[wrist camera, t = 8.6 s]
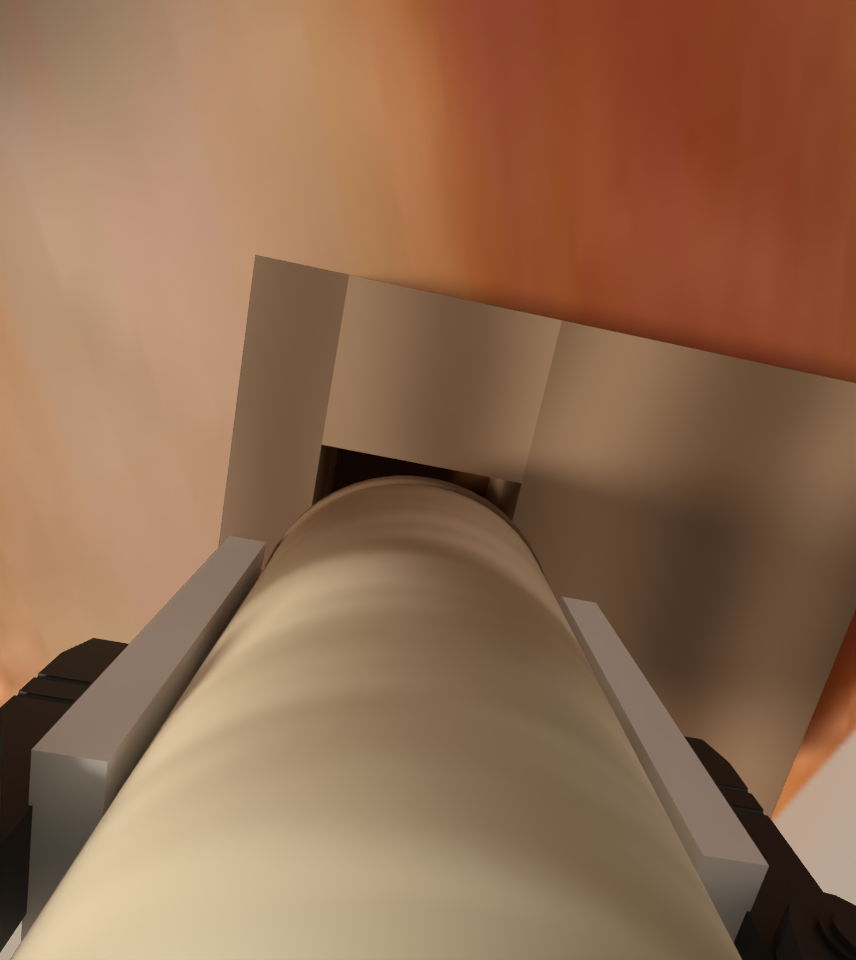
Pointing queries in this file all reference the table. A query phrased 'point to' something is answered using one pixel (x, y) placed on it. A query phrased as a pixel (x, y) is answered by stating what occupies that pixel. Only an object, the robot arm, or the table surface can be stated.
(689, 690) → the board
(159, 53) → the table surface
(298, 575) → the leg peg
